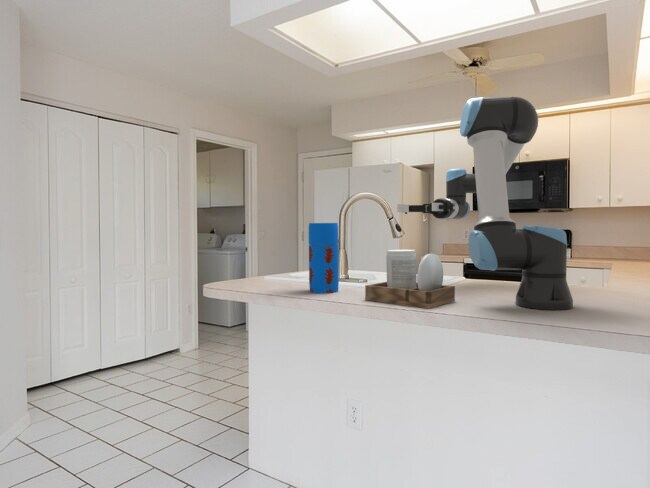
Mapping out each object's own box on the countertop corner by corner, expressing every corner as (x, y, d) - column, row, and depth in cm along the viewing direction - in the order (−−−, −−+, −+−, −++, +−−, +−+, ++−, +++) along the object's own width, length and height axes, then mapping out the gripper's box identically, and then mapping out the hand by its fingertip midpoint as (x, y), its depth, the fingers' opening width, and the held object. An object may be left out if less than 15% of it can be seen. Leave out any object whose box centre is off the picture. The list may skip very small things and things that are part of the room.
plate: (443, 296, 142) (443, 252, 141) (420, 302, 132) (420, 255, 131) (439, 296, 143) (439, 252, 142) (417, 302, 132) (417, 254, 132)
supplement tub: (422, 295, 144) (422, 250, 143) (401, 298, 139) (400, 251, 138) (401, 292, 152) (401, 248, 152) (380, 294, 147) (380, 250, 146)
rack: (454, 301, 140) (454, 286, 140) (429, 308, 129) (429, 292, 128) (393, 293, 156) (393, 280, 156) (365, 299, 144) (365, 285, 144)
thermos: (316, 294, 157) (315, 223, 156) (304, 290, 167) (304, 223, 166) (343, 292, 162) (343, 222, 161) (331, 288, 171) (330, 223, 170)
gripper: (476, 218, 161) (448, 217, 145) (415, 219, 177) (384, 219, 162) (476, 197, 160) (448, 194, 145) (415, 200, 177) (384, 198, 161)
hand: (414, 207), depth 153 cm, fingers open, 13 cm apart
